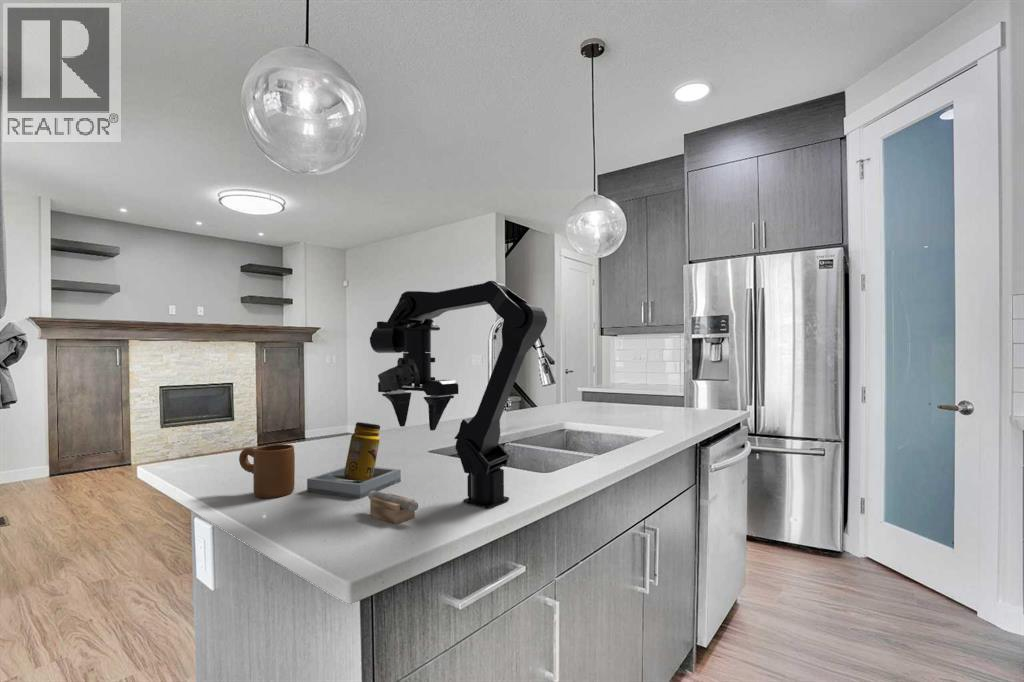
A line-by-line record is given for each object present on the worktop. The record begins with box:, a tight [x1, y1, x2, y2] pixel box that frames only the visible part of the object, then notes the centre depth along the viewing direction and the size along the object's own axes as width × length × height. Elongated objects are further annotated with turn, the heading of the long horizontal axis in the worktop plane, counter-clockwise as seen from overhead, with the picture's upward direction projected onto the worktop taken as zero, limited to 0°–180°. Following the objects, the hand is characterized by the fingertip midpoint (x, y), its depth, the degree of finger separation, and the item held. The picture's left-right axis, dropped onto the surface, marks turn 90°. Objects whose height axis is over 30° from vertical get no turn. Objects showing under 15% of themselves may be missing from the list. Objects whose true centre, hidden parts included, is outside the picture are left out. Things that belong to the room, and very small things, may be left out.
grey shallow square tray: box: [306, 466, 402, 499], centre depth 105 cm, size 14×14×3 cm
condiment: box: [327, 421, 381, 482], centre depth 105 cm, size 7×8×12 cm
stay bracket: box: [367, 490, 419, 525], centre depth 85 cm, size 13×4×4 cm, turn 53°
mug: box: [238, 444, 296, 499], centre depth 101 cm, size 12×8×9 cm, turn 78°
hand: (417, 428), depth 101 cm, fingers open, 9 cm apart
